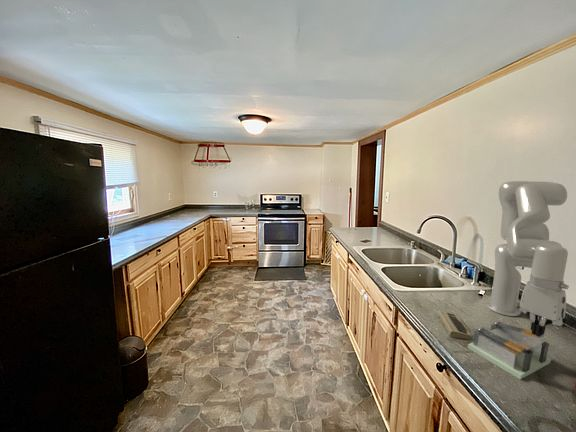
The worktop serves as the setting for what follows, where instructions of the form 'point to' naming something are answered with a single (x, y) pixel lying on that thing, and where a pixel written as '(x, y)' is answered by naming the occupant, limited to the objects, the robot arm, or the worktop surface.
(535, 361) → the board
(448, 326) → the computer
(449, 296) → the worktop surface
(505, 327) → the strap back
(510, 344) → the strip
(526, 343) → the grey rack unit
